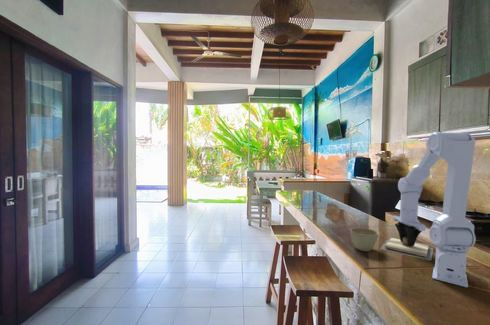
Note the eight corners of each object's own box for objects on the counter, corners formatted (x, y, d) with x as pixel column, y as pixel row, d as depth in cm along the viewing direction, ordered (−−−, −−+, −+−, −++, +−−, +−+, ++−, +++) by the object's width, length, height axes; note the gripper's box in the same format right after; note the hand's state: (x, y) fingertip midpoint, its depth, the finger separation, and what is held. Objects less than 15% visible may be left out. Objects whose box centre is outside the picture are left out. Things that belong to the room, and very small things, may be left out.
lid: (426, 256, 90) (426, 246, 90) (385, 247, 98) (385, 237, 98) (428, 247, 100) (429, 237, 100) (391, 239, 108) (391, 230, 108)
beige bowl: (381, 255, 92) (382, 236, 92) (352, 252, 94) (353, 233, 94) (373, 246, 102) (374, 228, 102) (346, 243, 104) (347, 226, 104)
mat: (431, 261, 88) (431, 260, 88) (379, 249, 98) (379, 248, 98) (433, 249, 100) (433, 248, 100) (387, 239, 110) (387, 238, 110)
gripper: (434, 213, 92) (432, 250, 92) (404, 205, 106) (403, 237, 107) (416, 213, 91) (414, 250, 91) (389, 205, 105) (387, 237, 106)
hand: (407, 243), depth 99 cm, fingers closed on lid, 3 cm apart
